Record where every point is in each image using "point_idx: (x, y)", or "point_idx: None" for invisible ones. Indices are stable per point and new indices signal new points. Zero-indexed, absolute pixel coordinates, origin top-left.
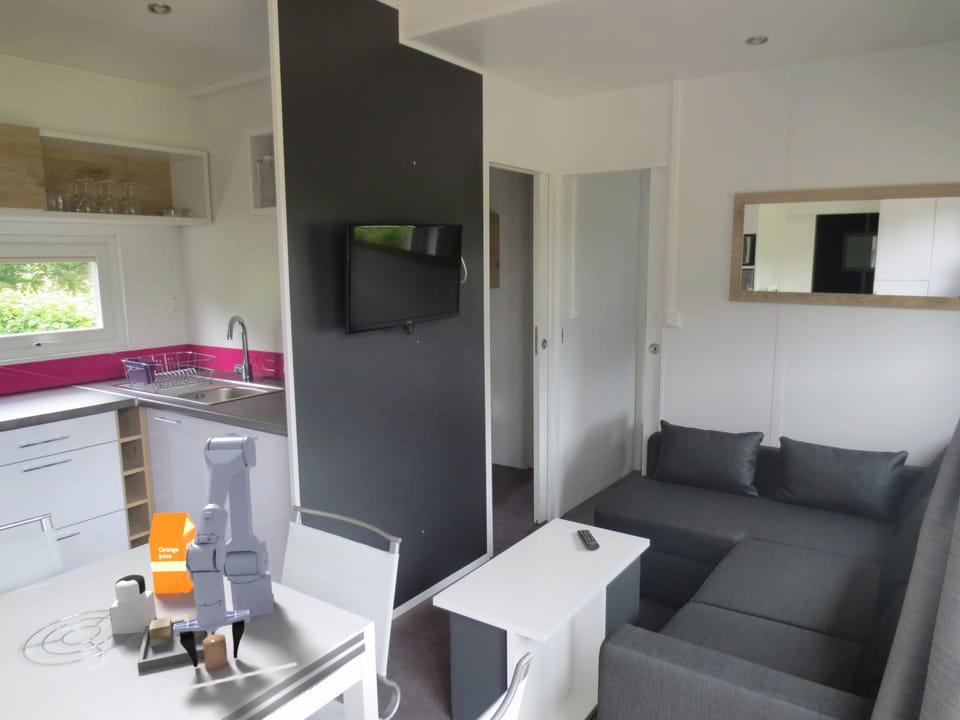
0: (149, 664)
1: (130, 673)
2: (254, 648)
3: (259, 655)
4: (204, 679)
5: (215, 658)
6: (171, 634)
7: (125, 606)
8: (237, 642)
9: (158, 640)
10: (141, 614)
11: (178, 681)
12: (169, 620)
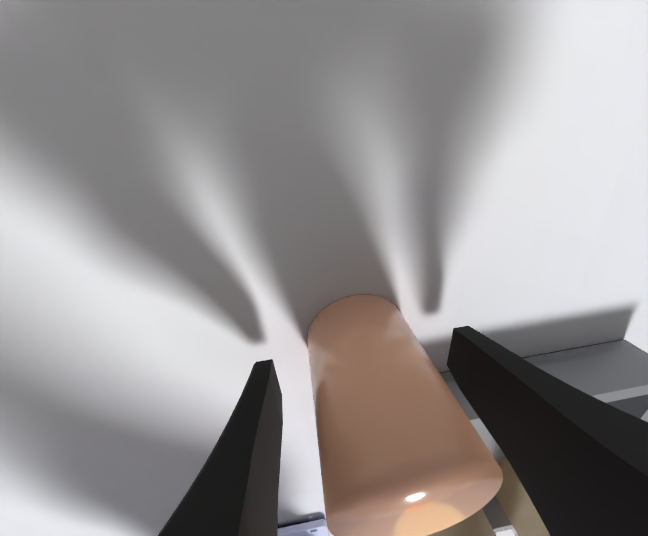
0: (623, 369)
1: (641, 347)
2: (209, 420)
3: (166, 380)
4: (409, 255)
5: (376, 354)
6: (504, 486)
7: None
8: (212, 478)
9: None
10: None
11: (518, 267)
12: None
